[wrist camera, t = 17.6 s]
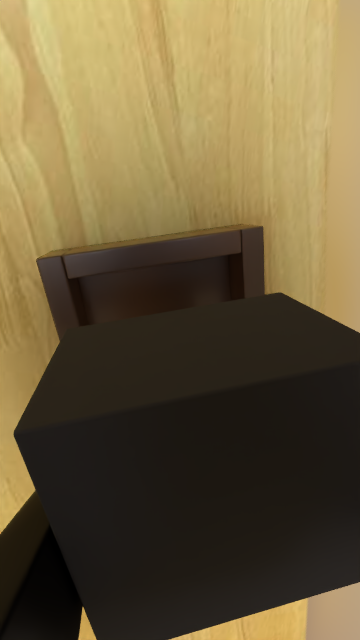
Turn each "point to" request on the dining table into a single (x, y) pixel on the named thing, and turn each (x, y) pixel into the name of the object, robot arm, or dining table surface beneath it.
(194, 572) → the pad charcoal
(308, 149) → the dining table surface
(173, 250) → the dark wooden tray
